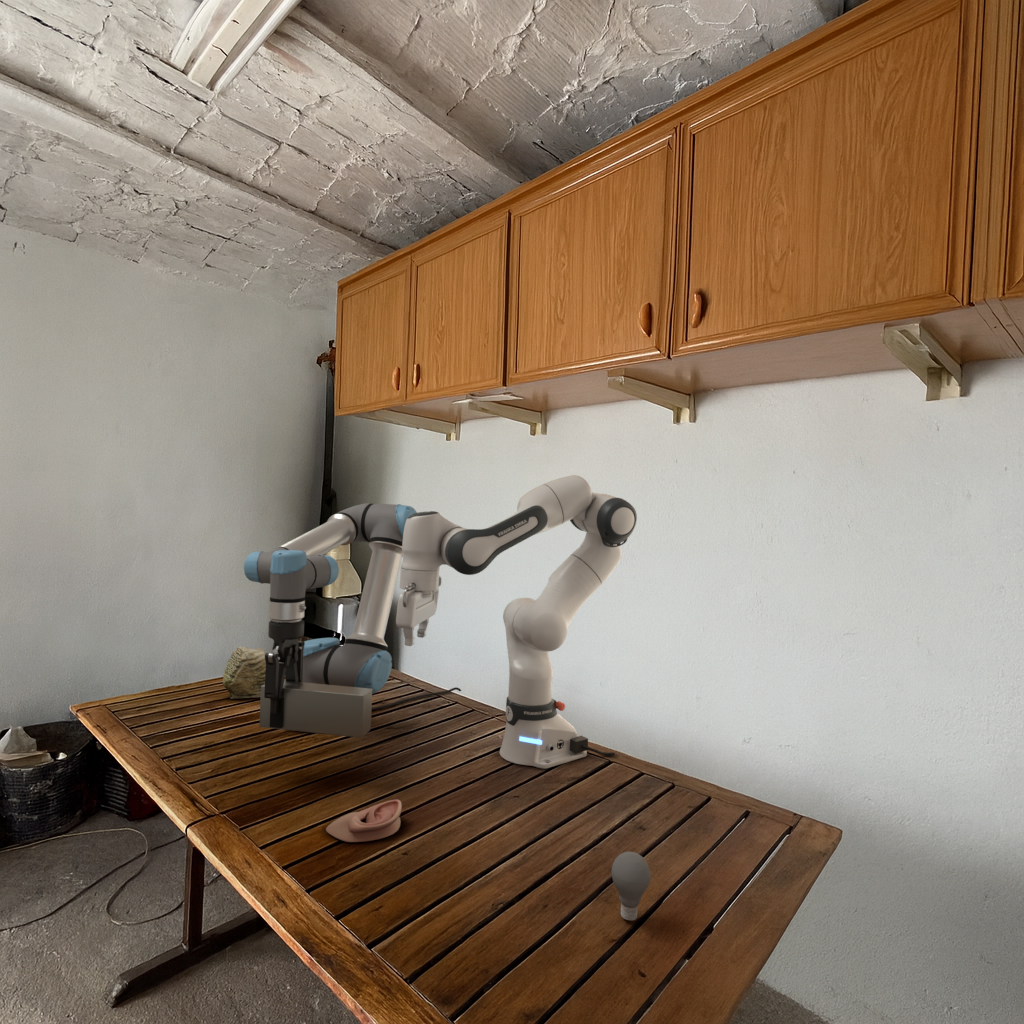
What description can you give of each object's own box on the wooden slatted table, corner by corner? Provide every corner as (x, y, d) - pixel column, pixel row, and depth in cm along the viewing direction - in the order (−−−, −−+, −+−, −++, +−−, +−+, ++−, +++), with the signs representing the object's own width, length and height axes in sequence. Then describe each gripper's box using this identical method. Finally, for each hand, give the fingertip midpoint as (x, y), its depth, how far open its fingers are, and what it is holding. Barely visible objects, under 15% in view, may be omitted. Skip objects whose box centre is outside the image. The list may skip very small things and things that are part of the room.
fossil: (218, 695, 195) (220, 647, 195) (278, 685, 208) (279, 640, 207) (228, 703, 189) (230, 653, 188) (289, 692, 201) (290, 645, 201)
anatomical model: (318, 816, 117) (346, 789, 129) (317, 837, 118) (346, 808, 129) (385, 827, 115) (408, 798, 126) (384, 848, 115) (407, 818, 126)
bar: (259, 727, 140) (260, 685, 140) (271, 719, 145) (273, 679, 145) (361, 737, 137) (363, 695, 136) (370, 729, 142) (372, 688, 141)
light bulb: (605, 905, 101) (608, 843, 101) (642, 905, 102) (645, 843, 102) (614, 931, 95) (617, 865, 95) (653, 930, 96) (656, 865, 96)
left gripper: (281, 628, 132) (277, 739, 132) (320, 613, 150) (317, 711, 150) (248, 626, 133) (244, 735, 134) (291, 611, 151) (287, 708, 152)
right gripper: (419, 587, 135) (415, 652, 135) (443, 577, 155) (440, 633, 156) (391, 585, 136) (386, 649, 136) (418, 575, 156) (415, 631, 157)
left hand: (282, 722), depth 142 cm, fingers closed on bar, 5 cm apart
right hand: (415, 641), depth 146 cm, fingers open, 8 cm apart
